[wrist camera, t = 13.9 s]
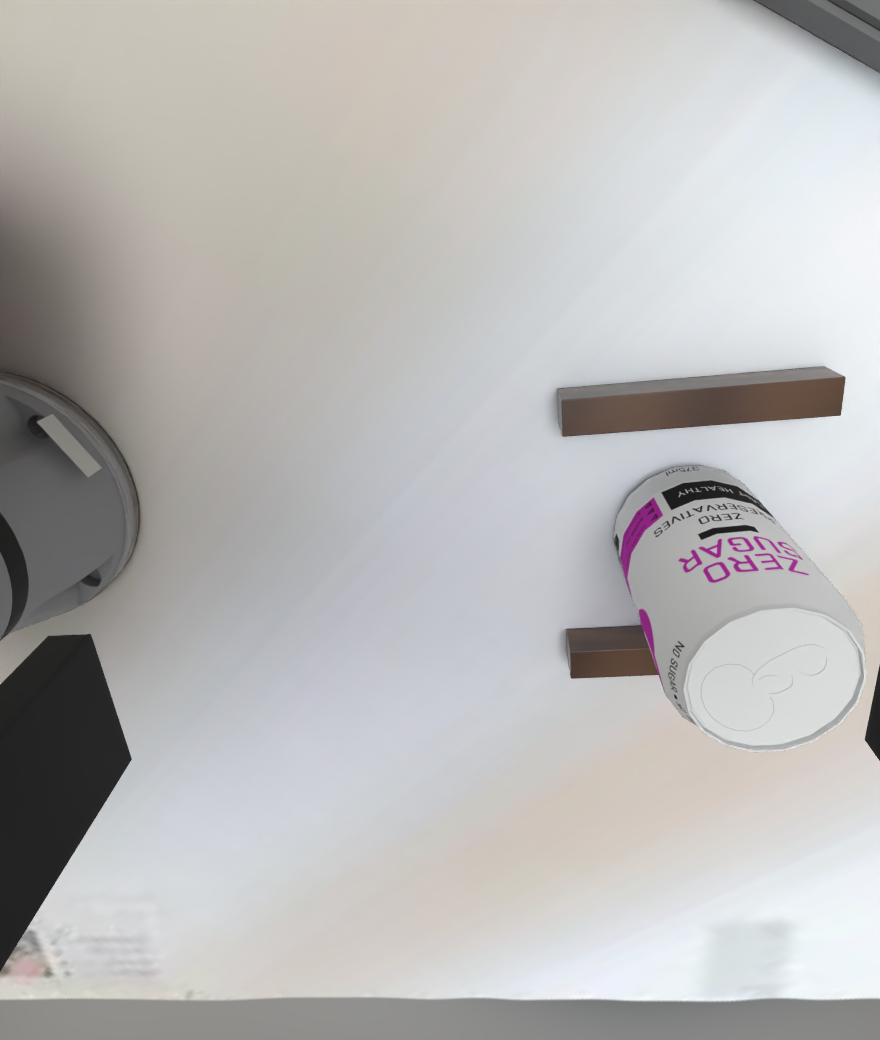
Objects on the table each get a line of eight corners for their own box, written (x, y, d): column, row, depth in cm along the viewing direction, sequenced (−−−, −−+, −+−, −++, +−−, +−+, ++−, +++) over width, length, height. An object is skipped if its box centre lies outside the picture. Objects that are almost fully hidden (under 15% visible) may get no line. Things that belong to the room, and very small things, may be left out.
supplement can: (659, 611, 45) (732, 792, 31) (585, 512, 42) (629, 661, 29) (780, 541, 42) (918, 705, 29) (709, 432, 40) (822, 554, 26)
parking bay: (567, 655, 46) (570, 679, 44) (557, 388, 39) (561, 400, 37) (793, 645, 45) (809, 668, 43) (824, 366, 38) (846, 376, 36)
